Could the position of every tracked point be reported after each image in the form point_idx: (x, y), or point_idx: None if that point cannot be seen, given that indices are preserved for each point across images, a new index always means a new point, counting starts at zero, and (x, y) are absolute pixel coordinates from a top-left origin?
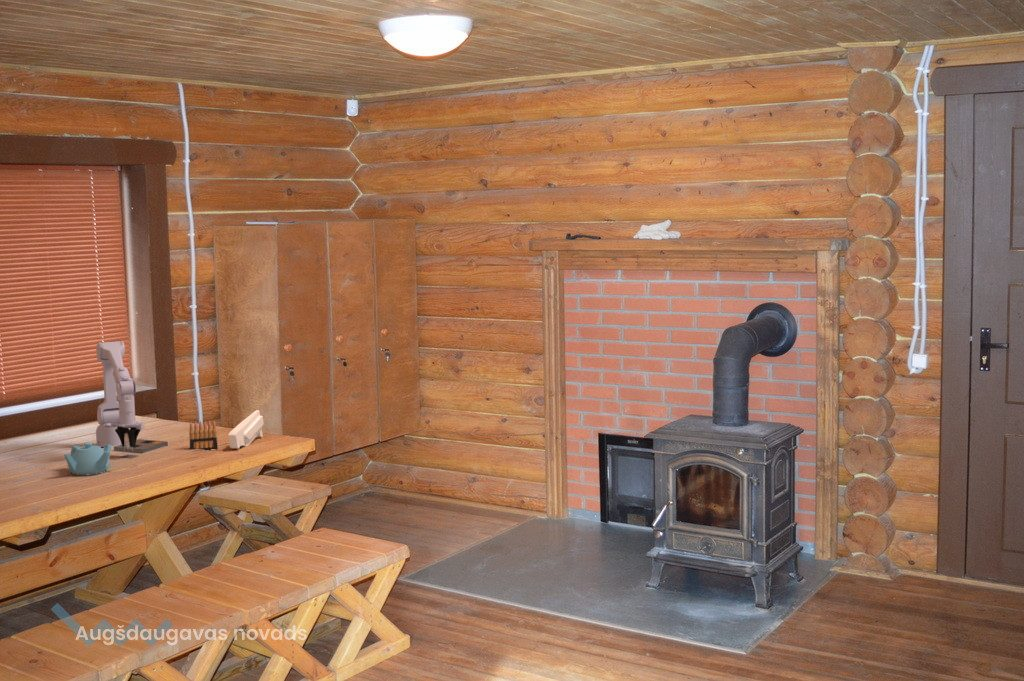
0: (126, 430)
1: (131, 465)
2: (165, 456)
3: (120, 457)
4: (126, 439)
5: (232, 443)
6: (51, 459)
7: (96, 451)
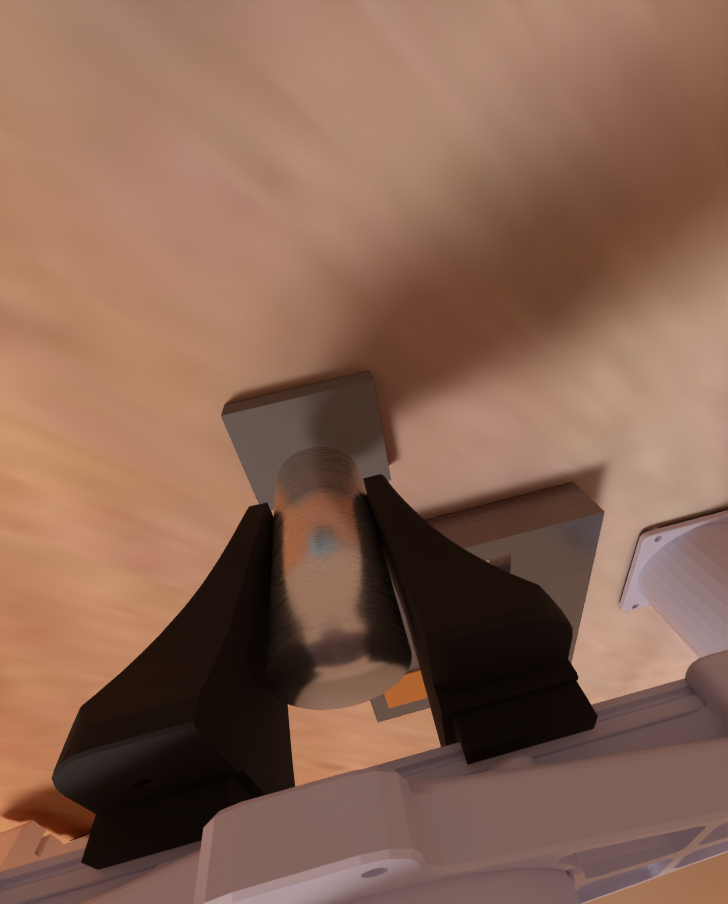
0: (430, 701)
1: (8, 283)
2: (165, 610)
3: (350, 385)
4: (300, 552)
5: None
6: None
7: None
